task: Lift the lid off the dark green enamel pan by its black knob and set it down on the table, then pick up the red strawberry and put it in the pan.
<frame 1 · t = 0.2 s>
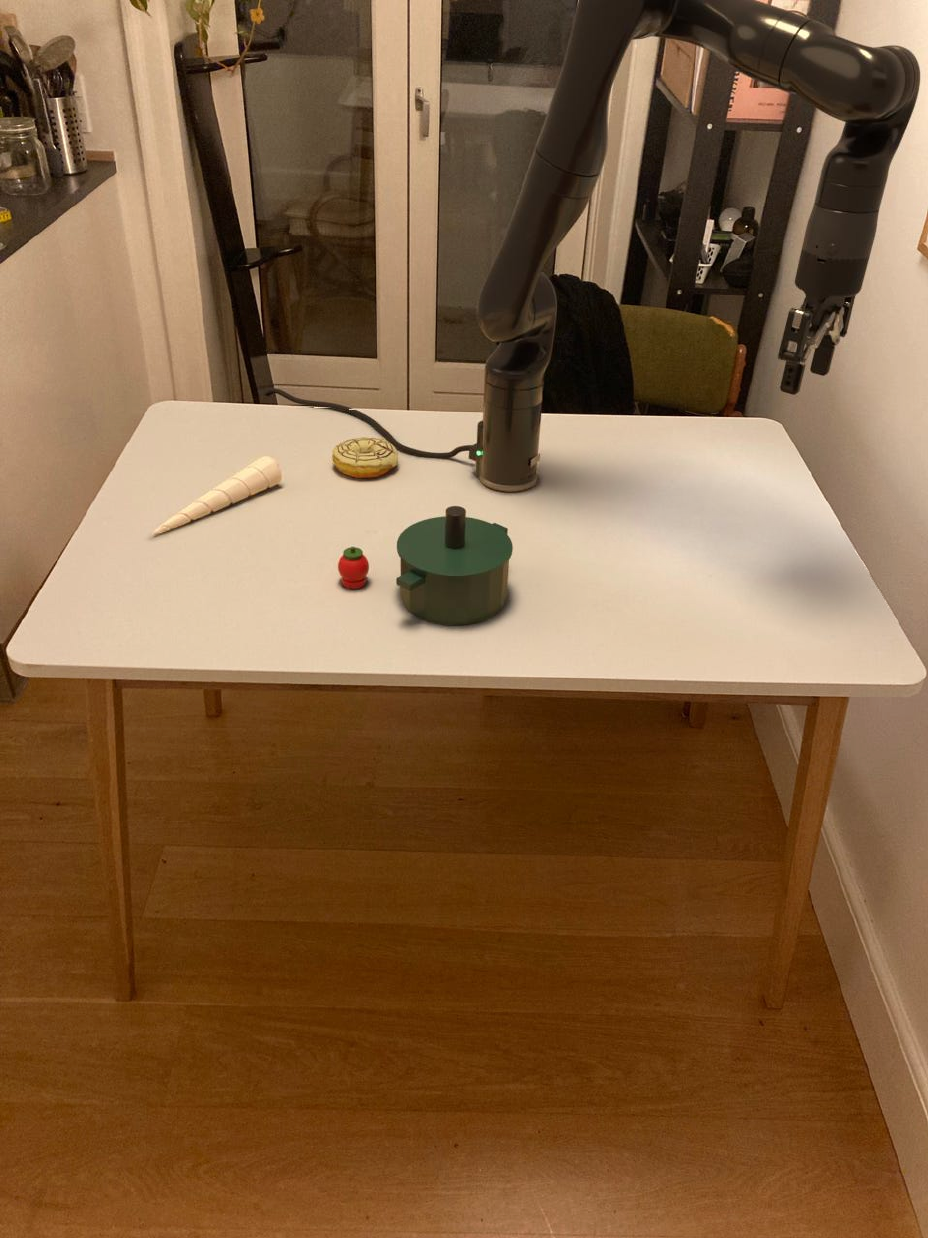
hand: (804, 382, 122), 29 cm above the table, tool pointing down, fingers open, 8 cm apart
decorated donut: (365, 468, 164), on the table
unicorn horn: (222, 508, 151), on the table
pan: (453, 595, 133), on the table
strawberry: (354, 582, 135), on the table
lid: (454, 547, 129), point 7 cm above the table, touching pan
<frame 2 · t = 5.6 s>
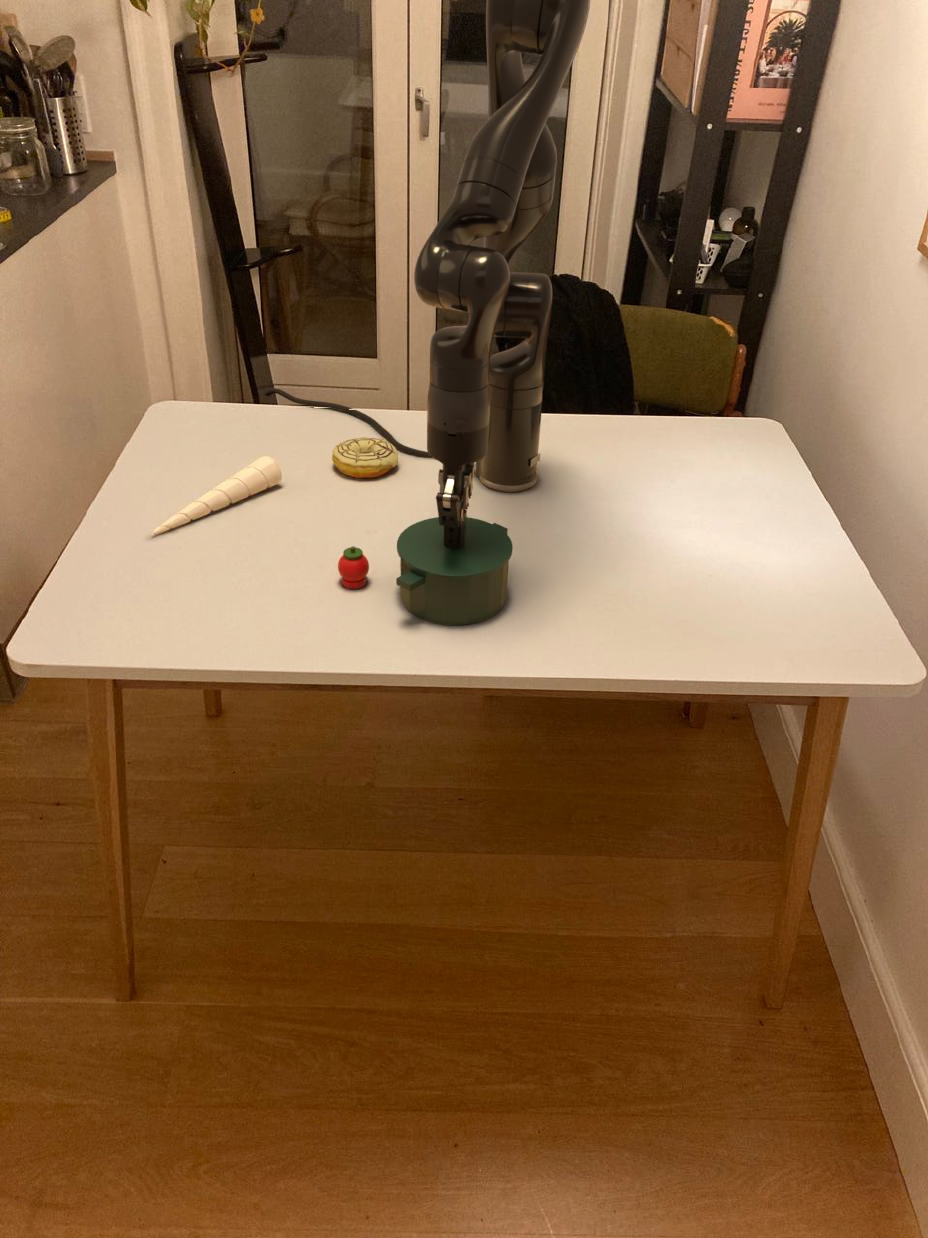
hand: (454, 540, 128), 9 cm above the table, tool pointing down, fingers closed on lid, 2 cm apart
lid: (454, 547, 129), point 8 cm above the table, touching gripper, pan
everything else where it was.
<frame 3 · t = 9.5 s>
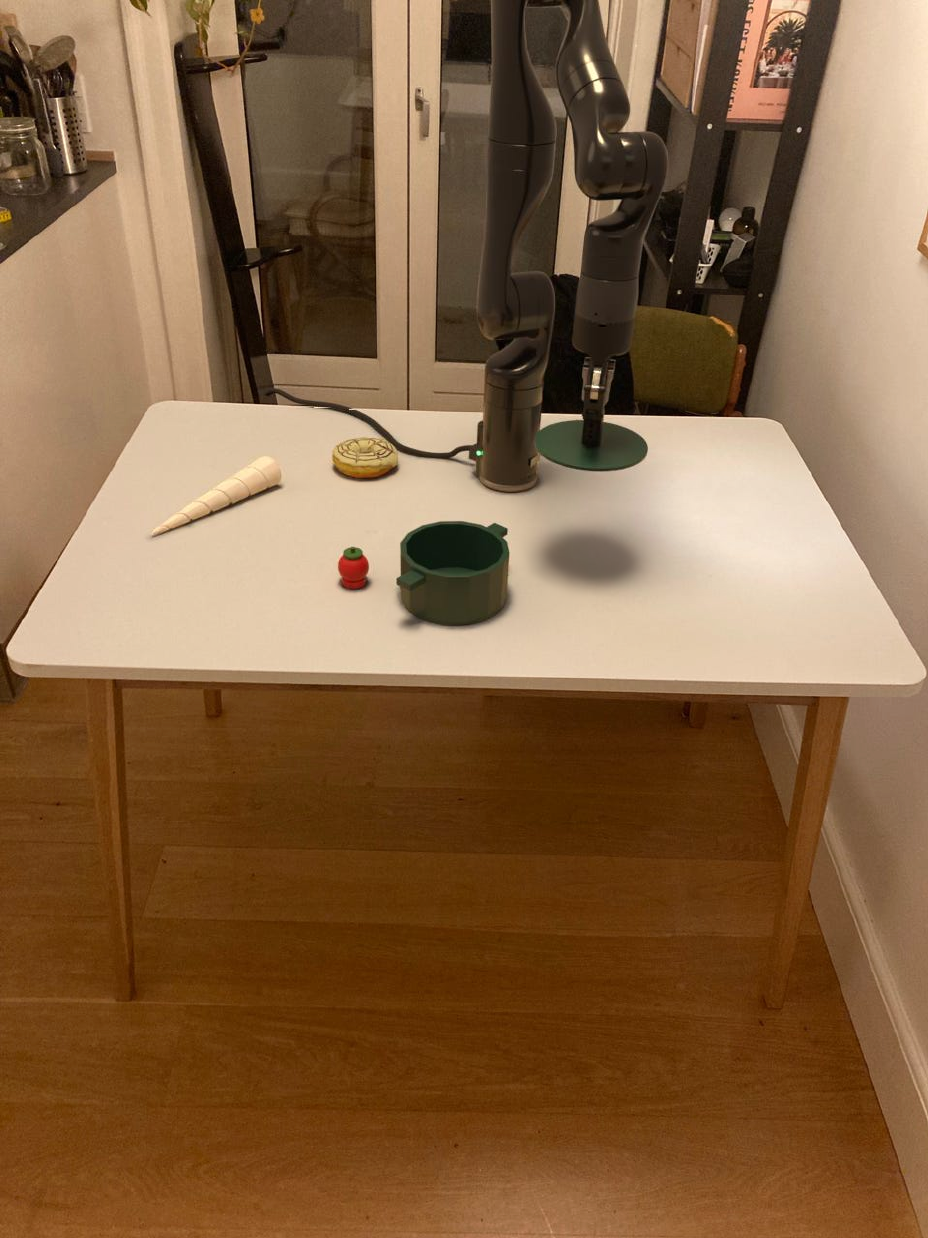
hand: (591, 438, 131), 19 cm above the table, tool pointing down, fingers closed on lid, 2 cm apart
lid: (590, 446, 132), point 18 cm above the table, touching gripper
everything else where it was.
when the fingers open (2 cm above the table, at t = 13.4 s): lid stays where it is, point 1 cm above the table.
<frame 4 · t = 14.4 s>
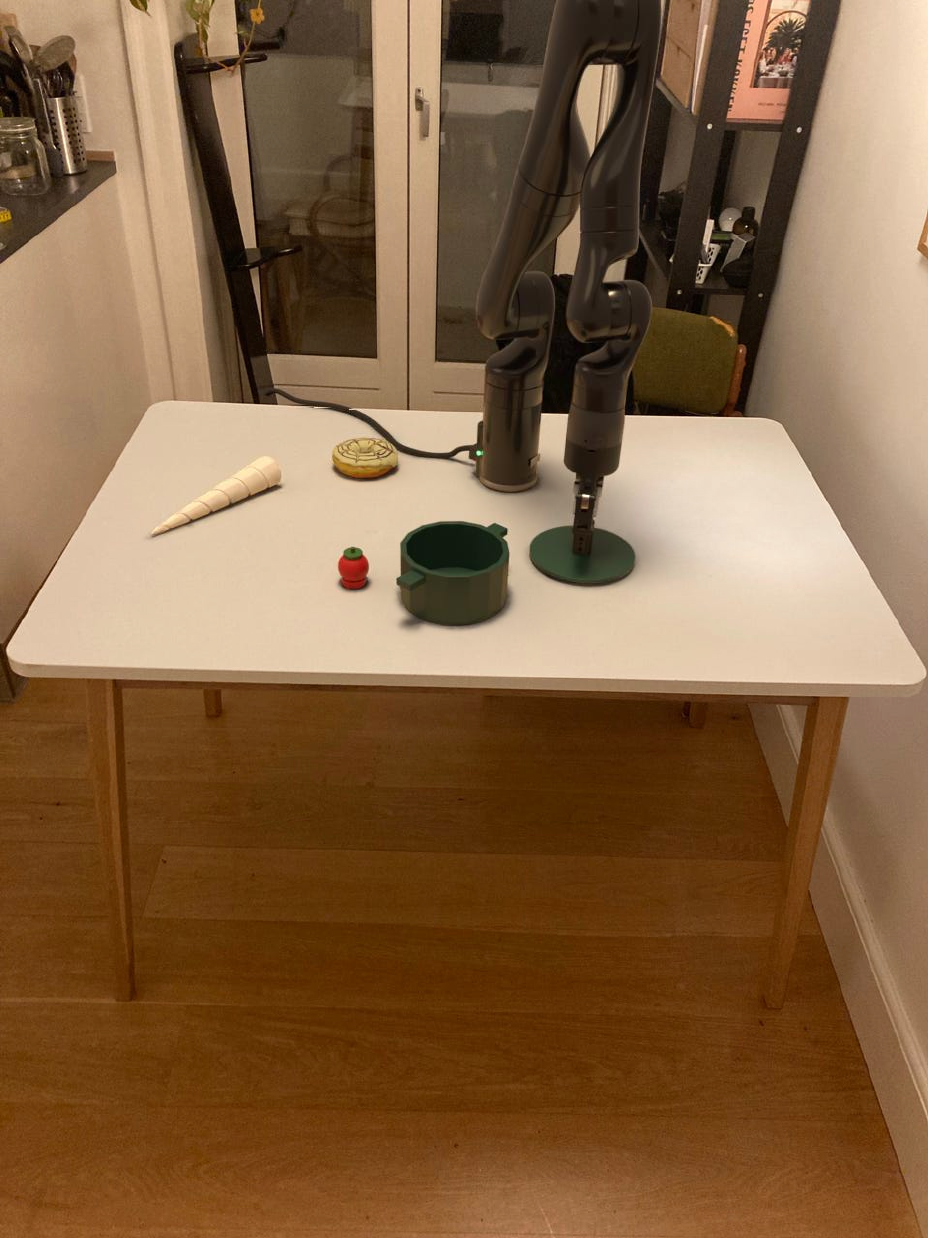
hand: (582, 538, 140), 3 cm above the table, tool pointing down, fingers open, 8 cm apart
lid: (581, 554, 142), point 1 cm above the table
everything else where it was.
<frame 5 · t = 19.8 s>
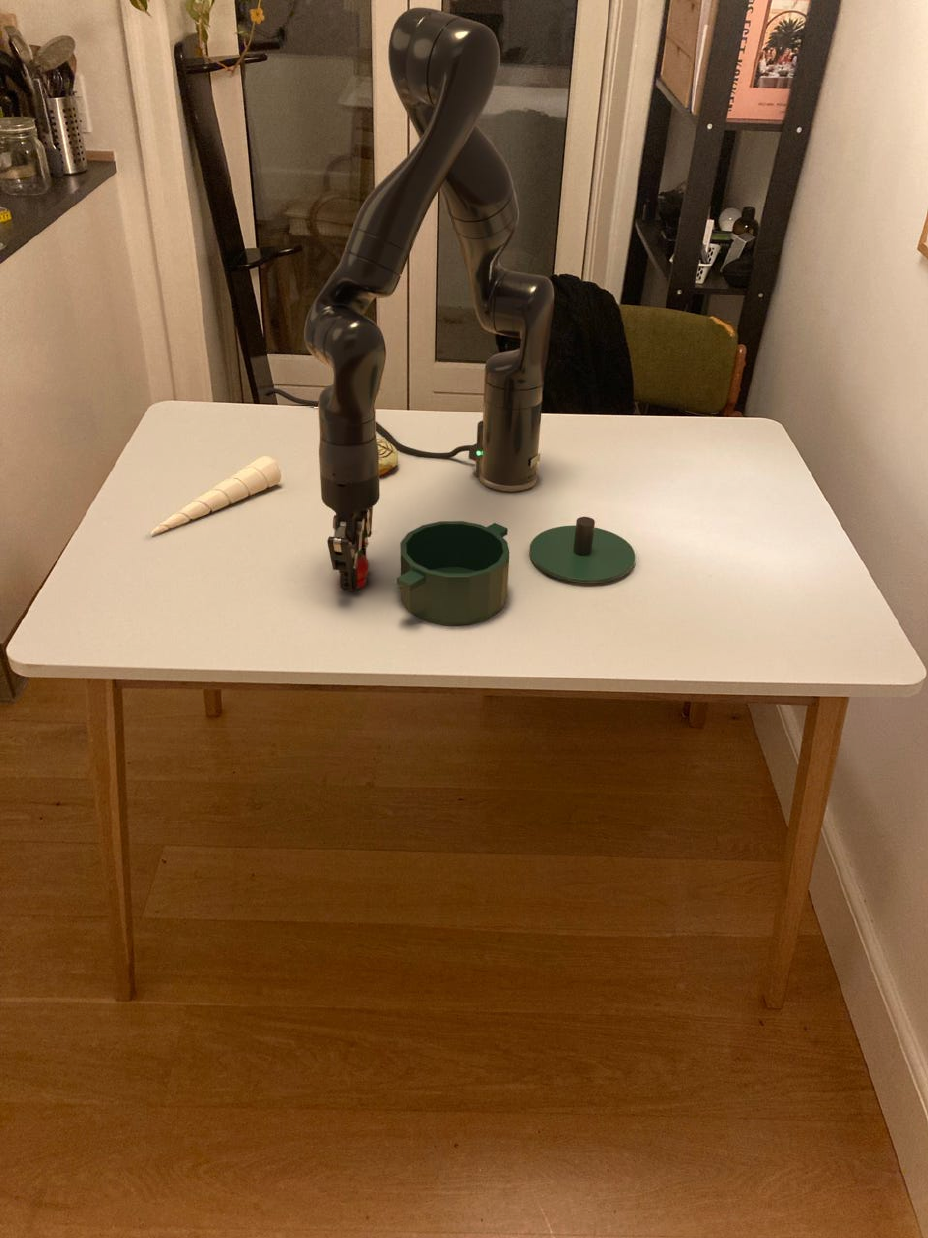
hand: (354, 579, 135), 0 cm above the table, tool pointing down, fingers closed on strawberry, 4 cm apart
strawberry: (354, 582, 135), on the table, touching gripper
everything else where it was.
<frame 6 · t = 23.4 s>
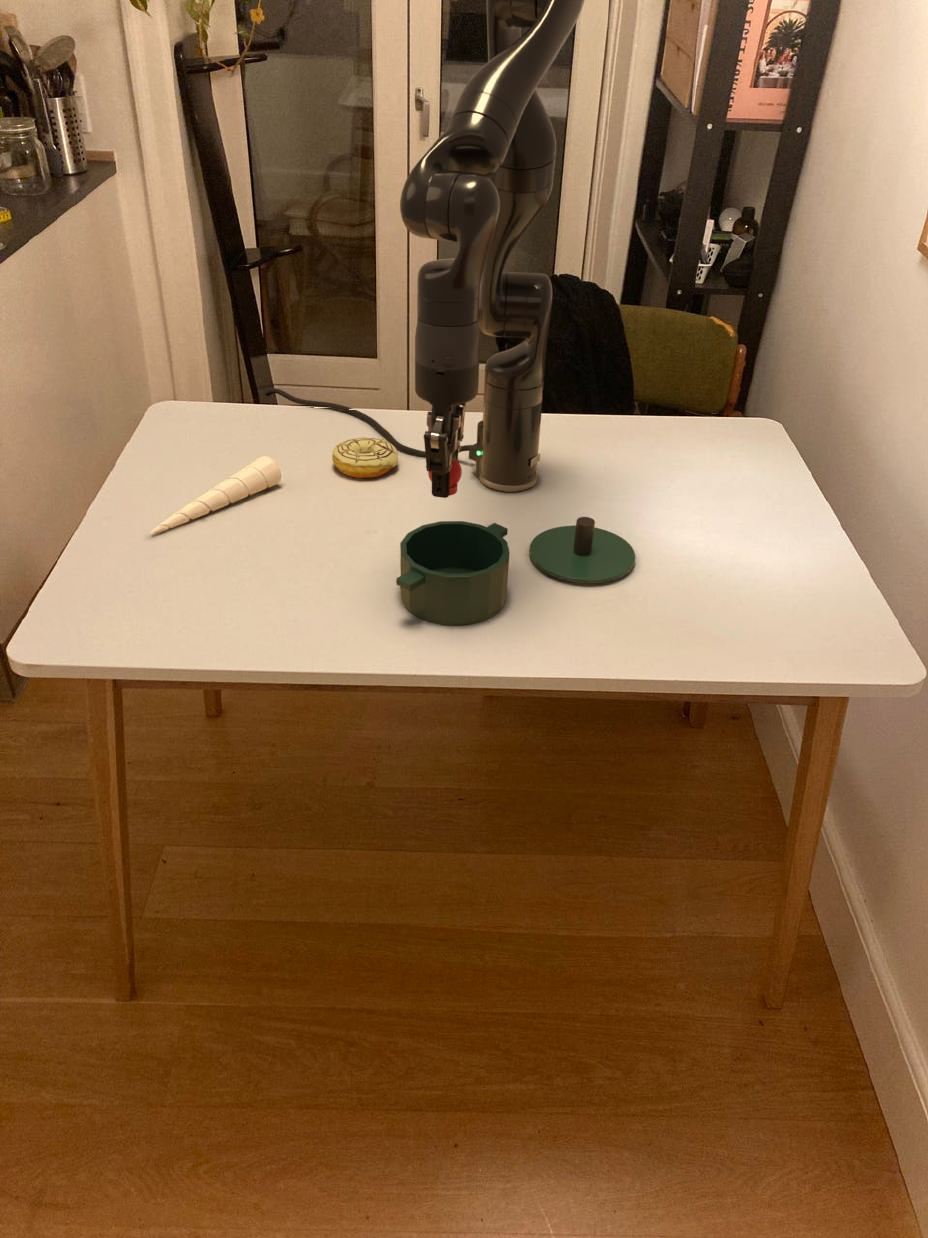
hand: (444, 486, 124), 16 cm above the table, tool pointing down, fingers closed on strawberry, 4 cm apart
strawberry: (444, 490, 124), point 16 cm above the table, touching gripper
everything else where it was.
when the fingers open (1 cm above the table, at t = 27.4 s): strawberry stays where it is, resting on pan.
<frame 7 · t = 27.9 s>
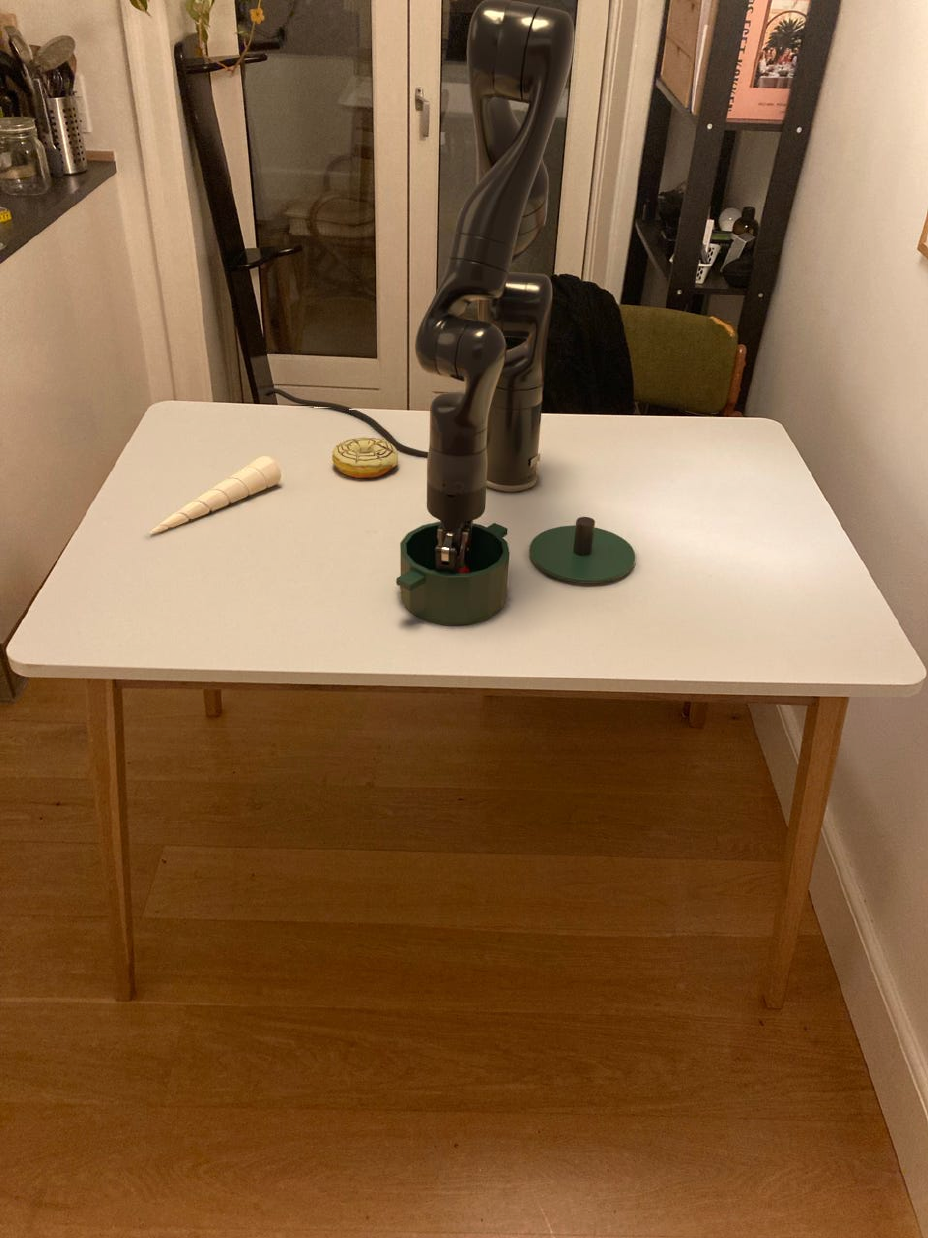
hand: (453, 589, 133), 1 cm above the table, tool pointing down, fingers open, 5 cm apart
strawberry: (454, 592, 133), resting on pan
everything else where it was.
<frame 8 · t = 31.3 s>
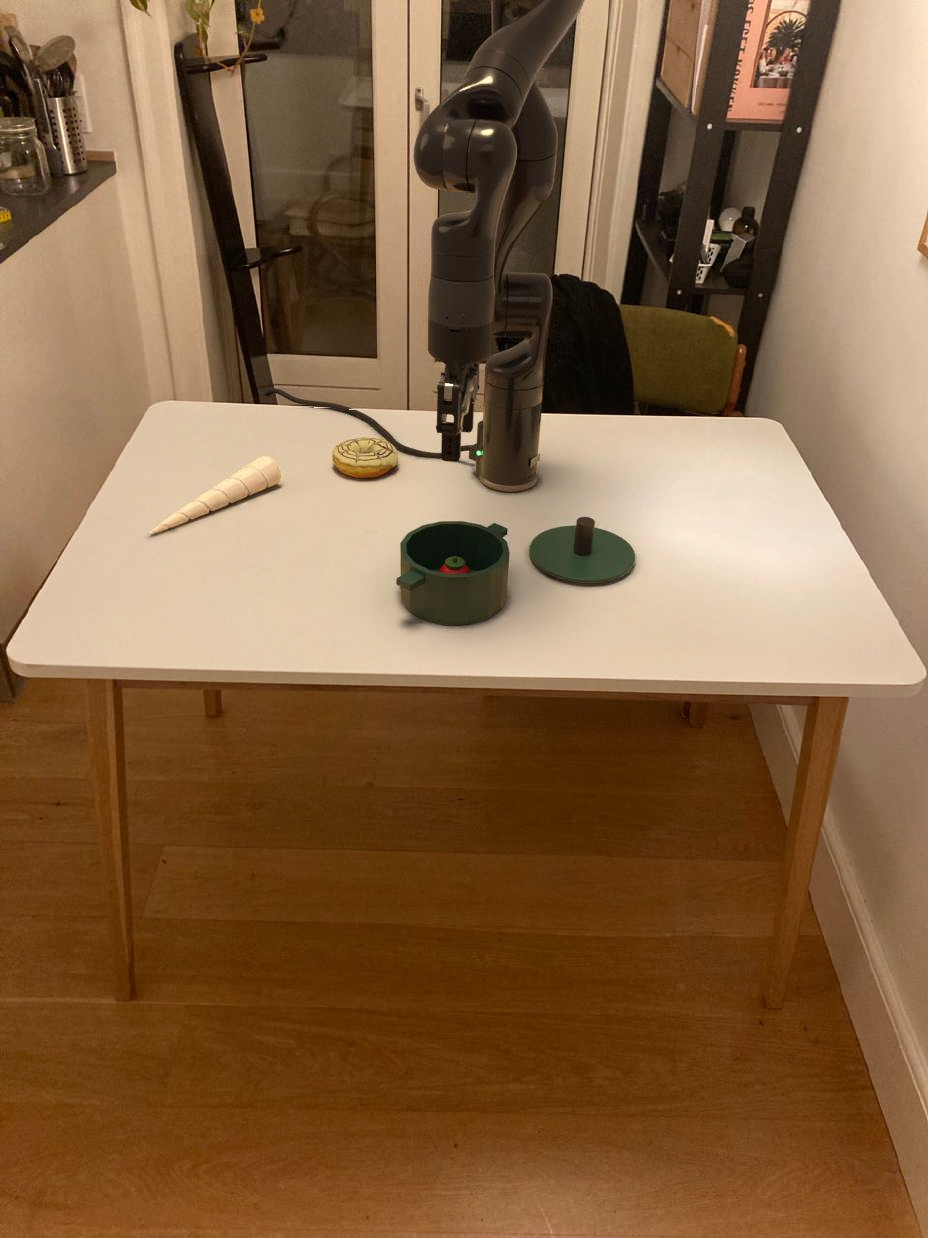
hand: (457, 445, 121), 22 cm above the table, tool pointing down, fingers open, 8 cm apart
nothing on the table moved.
at the end: lid inside the target area (0.2 cm from its centre), point 0.6 cm above the table; lid tilted 0°; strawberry inside the target area in the pan (0.1 cm from its centre), point 0.5 cm above the pan's base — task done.
